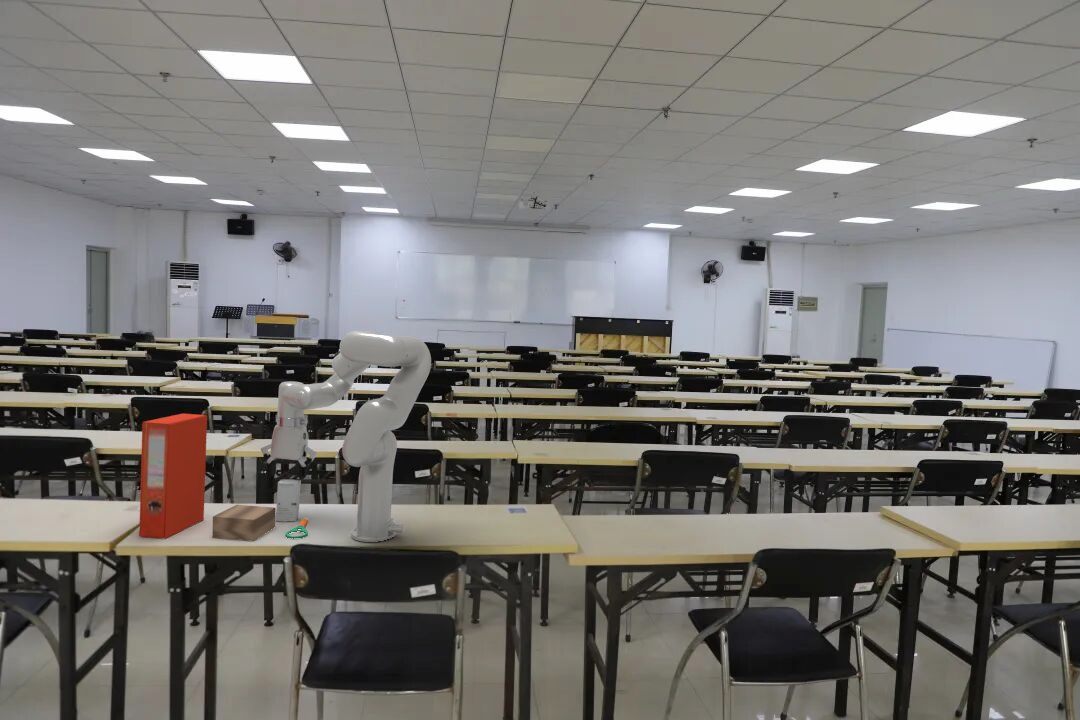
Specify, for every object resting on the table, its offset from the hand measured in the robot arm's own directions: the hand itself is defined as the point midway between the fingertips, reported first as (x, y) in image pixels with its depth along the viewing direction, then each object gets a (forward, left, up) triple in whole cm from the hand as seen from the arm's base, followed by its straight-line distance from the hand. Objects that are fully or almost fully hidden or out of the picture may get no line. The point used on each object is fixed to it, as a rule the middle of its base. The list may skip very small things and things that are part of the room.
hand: (287, 476), depth 197 cm
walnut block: (+5, +14, -13) cm, 20 cm away
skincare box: (-1, 0, -14) cm, 13 cm away
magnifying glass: (-9, +9, -14) cm, 19 cm away
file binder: (+26, +15, -14) cm, 33 cm away
